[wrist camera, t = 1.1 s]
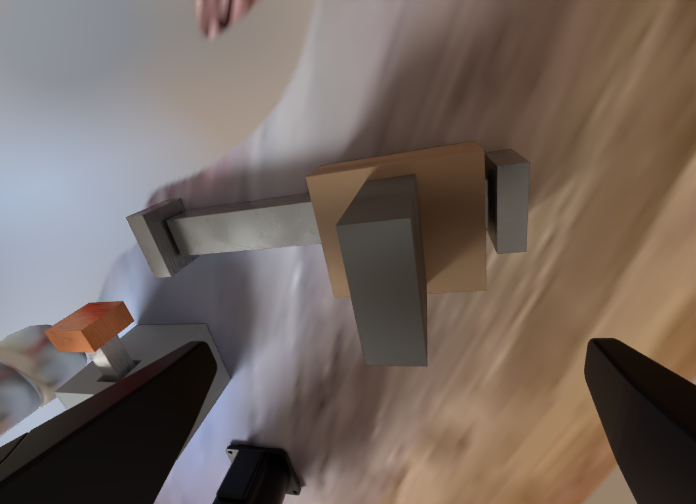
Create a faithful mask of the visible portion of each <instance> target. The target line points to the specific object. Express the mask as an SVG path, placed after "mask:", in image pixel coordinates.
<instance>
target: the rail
mask: <svg viewBox="0 0 696 504" xmlns="http://www.w3.org/2000/svg"><path fill="white" fill-rule="evenodd" d="M529 174H530V162H529V161H528V160H526V159H525V158H523V157H522V156H520V155H519V154H518V153H516V152H515V151H513V150H512V149H510V150H503V151H496V152H490V153H485V219H486V229H487V231H488V234H489V236H490V238H491V241H492V243H493V245H494V247H495V250H496V252H497V254H503V253H518V252H526V248H527V223H528V198H529ZM126 219H127V221H128V223H129V225H130V227H131V229H132V231H133V233H134V235H135V237H136V239H137V241H138V243H139V245H140V248H141V250H142V252H143V254H144V256H145V258H146V260H147V262H148V264H149V266H150V268H151V270H152V272H153V274H154V276H155V278H160V277H171V276H173V275H174V274H175V273H177V272H178V271H180V270H181V269H182V268H184V267H185V266H186V265H188V264H189V263H191V262H192V261H193V260H195V259H196V258H197V257H199V256H200V255H201V254H210V253H221V252H232V251H243V250H254V249H265V248H276V247H288V246H299V245H310V244H321V239H320V235H319V231H318V227H317V223H316V218H315V214H314V210H313V206H312V202H311V198H310V193H307V194H300V195H293V196H285V197H278V198H271V199H263V200H256V201H248V202H241V203H234V204H226V205H219V206H212V207H204V208H197V209H190V210H186V211H185V209H184V207H183V204H182V202H181V200H180V199H173V200H166V201H163V202H161V203H158V204H156V205H154V206H151V207H149V208H147V209H144V210H142V211H140V212H137V213H135V214H132V215H130V216H128V217H126Z"/></svg>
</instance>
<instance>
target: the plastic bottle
mask: <svg viewBox="0 0 696 504" xmlns="http://www.w3.org/2000/svg"><path fill="white" fill-rule="evenodd" d="M50 327H52V326H51V325H36V326H29V327H27V328H25V329H22V330H20V331H18V332H15V333H13V334H11V335H9V336H7V337H6V338H4V339H3V340H2V341H1V342H0V436H2V435H3V434H5V433H6V432H7V431H9V430H10V429H11V428H13V427H14V426H15V425H17V424H18V423H19V422H21V421H22V420H24V419H25V418H26V417H28V416H29V415H30V414H32V413H33V412H34V411H36V410H37V409H38V408H39V407H42V406H44V405H46V404H47V403H49V402H51V401H52V400H54V399H56V398H57V396H56V395H55V393H54V392H55V391H56V390H57V389H58V388H60V387H61V386H62V385H63V384H65V383H66V382H67V381H68V380H70V379H71V378H72V377H73V376H74V375H76V374H77V373H78V372H79V371H81V370H82V369H83V368H84V367H86V364H87V357H86V354H85V352H58V351H57V350H56V348H55V347H54V345H53V344H52V342H51V341H50V340H49V338H48V337H47V335H46V334H45V332H44V331H45V330H47V329H49V328H50Z"/></svg>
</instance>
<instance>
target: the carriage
mask: <svg viewBox="0 0 696 504" xmlns="http://www.w3.org/2000/svg"><path fill="white" fill-rule="evenodd" d="M306 181H307V185H308V189H309V193H310V198H311V202H312V206H313V210H314V214H315V218H316V223H317V227H318V231H319V235H320V239H321V243H322V248H323V252H324V256H325V260H326V264H327V268H328V273H329V277H330V281H331V285H332V289H333V293H334V297H351V300H352V305H353V309H354V314H355V319H356V323H357V328H358V332H359V337H360V342H361V346H362V351H363V356H364V360H365V365H368V366H426V367H427V293H446V292H470V291H487V285H486V219H485V154H484V149H483V148H482V147H481V146H480V145H479V144H478V143H477V142H476V141H473V142H467V143H460V144H454V145H448V146H441V147H435V148H429V149H423V150H416V151H410V152H404V153H397V154H391V155H385V156H379V157H372V158H366V159H360V160H353V161H347V162H341V163H334V164H328V165H322V166H320V167H319V168H318V169H316V170H315V171H313V172H312V173H311V174H309V175H308V176H306Z"/></svg>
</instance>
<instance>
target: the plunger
mask: <svg viewBox="0 0 696 504" xmlns="http://www.w3.org/2000/svg"><path fill="white" fill-rule="evenodd" d="M132 322H134V320H133V318H132V316H131V314H130V312H129V311H128V309H127V307H126V305H125V303H124V302H123V301H117V302H96V303H88V304H87V305H85V306H83V307H82V308H80V309H79V310H77V311H75V312H74V313H72V314H71V315H69V316H68V317H66V318H64V319H63V320H61V321H60V322H58V323H57V324H55V325H54V326H52V327H50V328H49V329H47V330H45V331H44V332H45V334H46V335H47V337H48V338H49V340H50V341H51V342H52V344H53V345H54V347H55V348H56V350H57V351H58V352H88V354H89V355H90V357H91V358H92V360H93V361H94V363H95V364H96V366H97V367H98V369H99V371H100V372H101V374H102V375H103V377H104V378H105V380H106V381H107V382H118V381H120V380H122V379H123V378H124V377H125V376H126V375H127V374H128V373H129V372H130V371H131V370H132V369H133V368H135V367H136V365H135V364H134V362H133V360H132V359H131V357H130V355H129V354H128V352H127V350H126V349H125V347H124V345H123V343H122V342H121V340H120V338H119V337H118V335H117V334H118V333H120V332H121V331H122V330H124V329H125V328H126V327H127V326H129V325H130V324H131V323H132Z"/></svg>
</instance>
